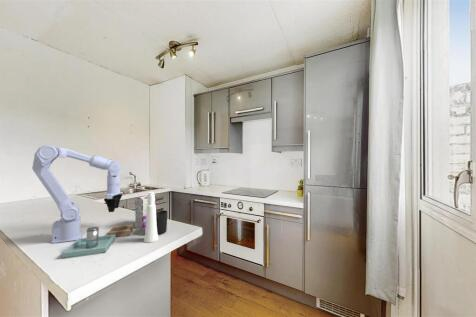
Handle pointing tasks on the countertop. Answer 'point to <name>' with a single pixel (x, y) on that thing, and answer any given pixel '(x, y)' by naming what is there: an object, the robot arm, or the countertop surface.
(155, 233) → the cosmetic bottle
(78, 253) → the tray
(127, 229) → the socket block
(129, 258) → the countertop surface
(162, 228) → the pen holder
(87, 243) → the steel pin
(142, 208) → the candy bar box
